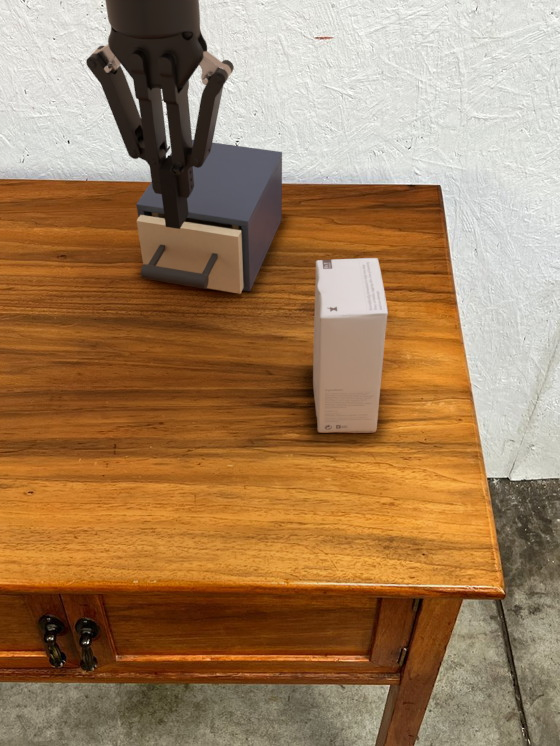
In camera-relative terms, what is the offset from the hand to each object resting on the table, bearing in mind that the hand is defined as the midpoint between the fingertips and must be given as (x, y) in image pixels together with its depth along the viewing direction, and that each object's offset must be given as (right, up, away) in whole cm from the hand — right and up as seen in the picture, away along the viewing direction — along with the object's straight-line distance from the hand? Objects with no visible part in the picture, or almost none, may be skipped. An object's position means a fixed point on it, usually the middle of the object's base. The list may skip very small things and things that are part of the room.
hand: (177, 220), depth 79 cm
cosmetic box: (+17, -19, -2) cm, 25 cm away
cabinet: (+3, 0, +16) cm, 16 cm away
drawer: (+2, -3, +12) cm, 12 cm away
